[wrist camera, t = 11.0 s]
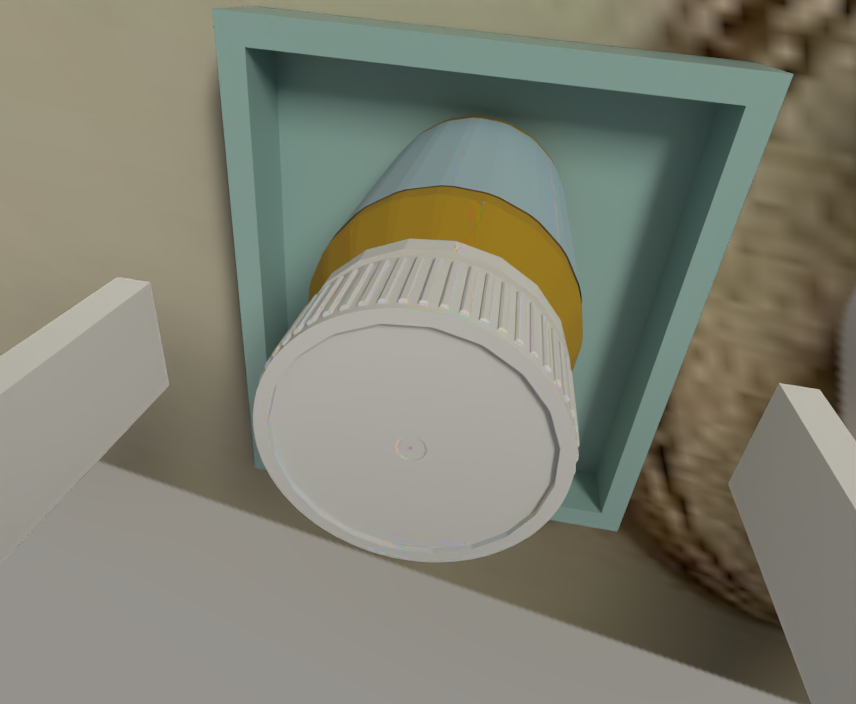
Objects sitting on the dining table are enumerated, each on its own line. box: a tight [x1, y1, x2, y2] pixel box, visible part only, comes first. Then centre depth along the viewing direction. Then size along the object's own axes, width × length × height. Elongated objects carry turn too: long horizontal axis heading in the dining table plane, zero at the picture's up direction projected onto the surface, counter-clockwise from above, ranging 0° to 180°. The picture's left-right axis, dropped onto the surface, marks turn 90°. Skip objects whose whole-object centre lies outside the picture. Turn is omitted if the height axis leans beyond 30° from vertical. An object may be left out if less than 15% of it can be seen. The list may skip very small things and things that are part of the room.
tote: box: [212, 6, 793, 532], centre depth 25 cm, size 20×18×4 cm
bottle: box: [253, 116, 583, 562], centre depth 17 cm, size 7×7×15 cm
